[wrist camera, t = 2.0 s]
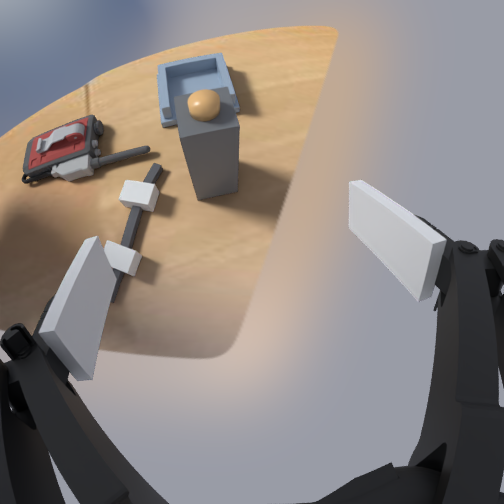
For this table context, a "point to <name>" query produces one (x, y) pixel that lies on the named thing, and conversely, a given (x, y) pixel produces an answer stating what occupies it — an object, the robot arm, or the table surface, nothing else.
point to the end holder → (191, 82)
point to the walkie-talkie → (70, 151)
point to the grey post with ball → (209, 140)
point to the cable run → (132, 224)
